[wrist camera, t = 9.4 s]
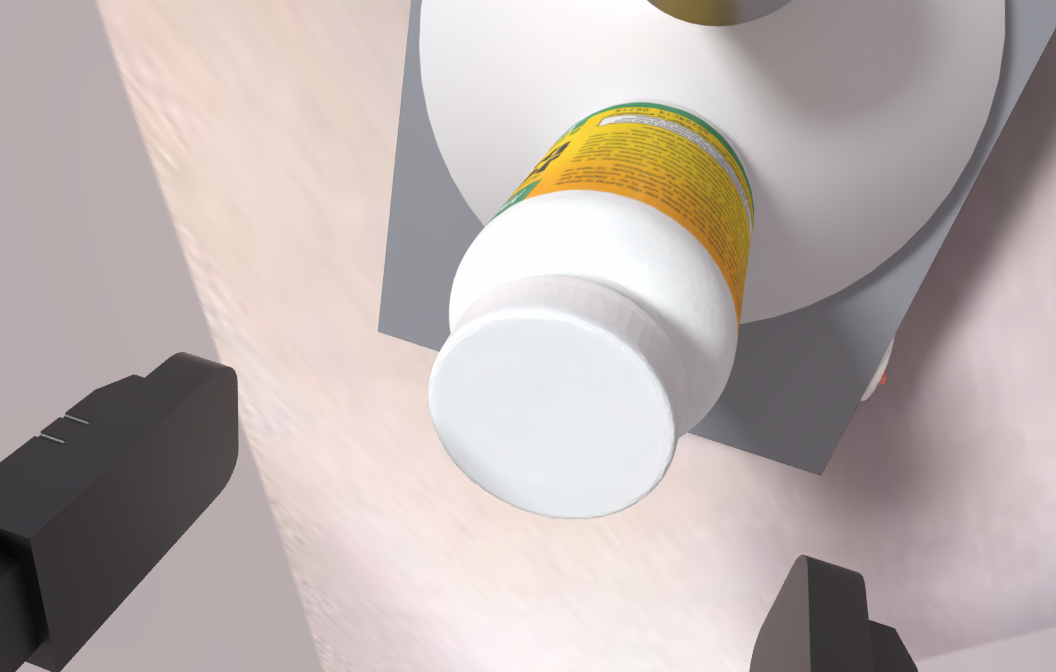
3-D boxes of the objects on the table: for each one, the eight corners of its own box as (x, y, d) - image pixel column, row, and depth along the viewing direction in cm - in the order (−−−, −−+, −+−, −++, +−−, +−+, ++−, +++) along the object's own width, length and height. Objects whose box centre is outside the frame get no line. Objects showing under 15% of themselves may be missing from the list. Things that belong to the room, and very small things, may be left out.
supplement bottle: (708, 324, 22) (651, 600, 14) (520, 253, 22) (364, 482, 15) (794, 136, 19) (785, 355, 11) (575, 60, 19) (416, 216, 12)
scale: (831, 419, 26) (835, 493, 24) (414, 288, 28) (369, 341, 25) (1178, -261, 17) (1260, -283, 14) (501, -394, 18) (443, -439, 15)
